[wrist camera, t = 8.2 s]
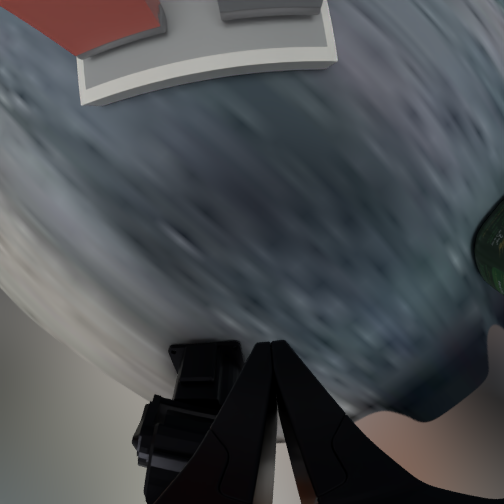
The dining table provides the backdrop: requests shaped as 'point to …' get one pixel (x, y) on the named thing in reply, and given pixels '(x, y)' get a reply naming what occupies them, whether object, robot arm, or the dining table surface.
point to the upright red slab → (91, 22)
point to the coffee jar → (492, 249)
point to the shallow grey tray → (206, 51)
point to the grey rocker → (267, 8)
